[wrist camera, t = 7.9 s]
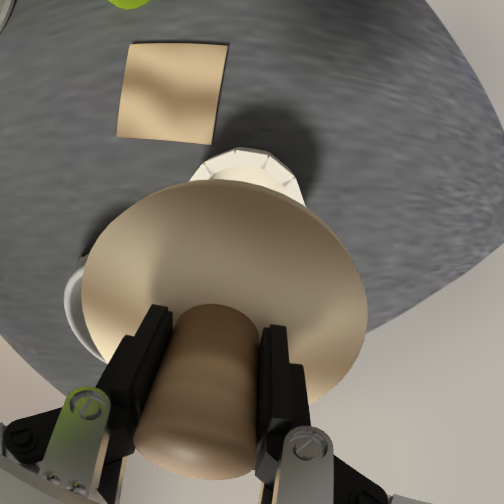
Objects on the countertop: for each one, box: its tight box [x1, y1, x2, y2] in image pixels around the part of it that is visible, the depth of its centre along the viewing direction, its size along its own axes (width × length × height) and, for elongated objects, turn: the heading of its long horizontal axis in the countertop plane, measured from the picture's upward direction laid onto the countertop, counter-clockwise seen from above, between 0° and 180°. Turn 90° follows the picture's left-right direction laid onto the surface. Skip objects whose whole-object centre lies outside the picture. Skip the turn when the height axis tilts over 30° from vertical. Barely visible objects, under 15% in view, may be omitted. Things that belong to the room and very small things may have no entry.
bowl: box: [189, 147, 306, 207], centre depth 27 cm, size 10×10×4 cm
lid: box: [81, 179, 368, 480], centre depth 9 cm, size 11×11×6 cm
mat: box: [116, 43, 228, 145], centre depth 25 cm, size 10×10×1 cm
